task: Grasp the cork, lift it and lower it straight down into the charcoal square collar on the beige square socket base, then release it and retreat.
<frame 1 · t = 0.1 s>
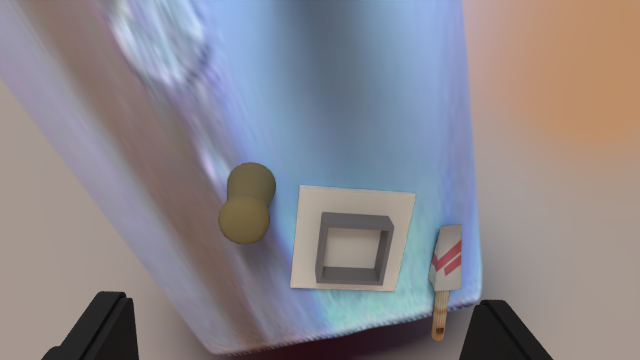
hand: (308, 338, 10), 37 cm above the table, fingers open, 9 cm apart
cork: (251, 184, 48), on the table
beige square socket base: (349, 239, 52), on the table
paintbrush: (439, 278, 56), on the table
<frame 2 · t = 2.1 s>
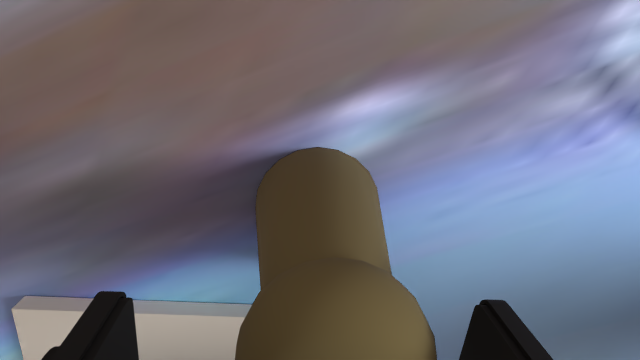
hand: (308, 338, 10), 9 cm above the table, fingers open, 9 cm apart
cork: (317, 204, 19), on the table
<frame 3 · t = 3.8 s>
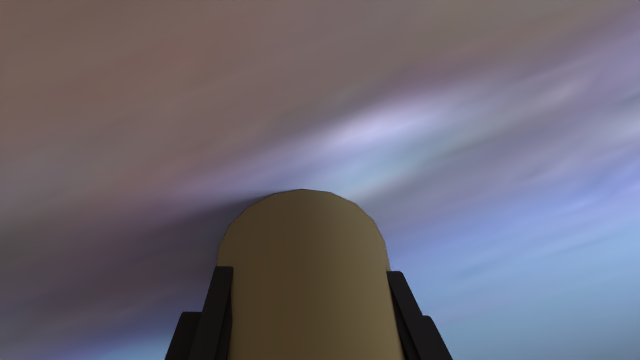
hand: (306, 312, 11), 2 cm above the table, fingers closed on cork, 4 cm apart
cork: (302, 264, 14), on the table, touching gripper
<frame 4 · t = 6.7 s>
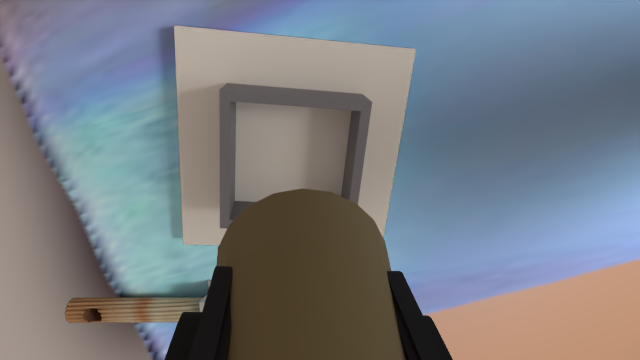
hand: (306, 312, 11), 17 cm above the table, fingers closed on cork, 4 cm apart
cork: (302, 263, 14), point 15 cm above the table, touching gripper
beige square socket base: (291, 149, 27), on the table
paintbrush: (205, 297, 32), on the table
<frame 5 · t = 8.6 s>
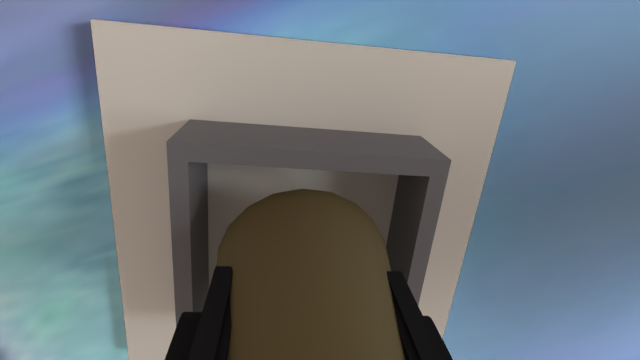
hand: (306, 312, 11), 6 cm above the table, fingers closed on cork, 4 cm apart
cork: (302, 264, 14), point 4 cm above the table, touching gripper
beige square socket base: (299, 219, 17), on the table
when the fingers open (5 cm above the table, at t = 10.0 s): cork drops 1 cm, resting on beige square socket base.
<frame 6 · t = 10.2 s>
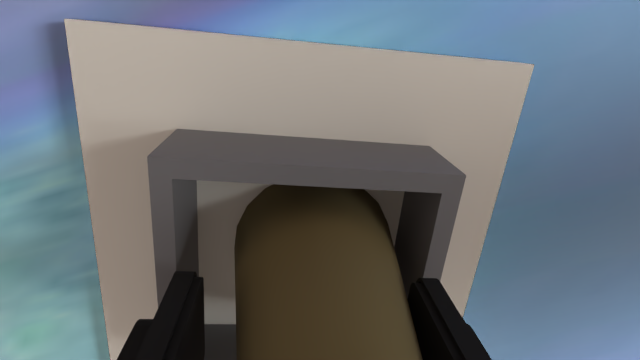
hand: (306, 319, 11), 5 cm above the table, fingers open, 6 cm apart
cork: (312, 242, 15), point 1 cm above the table, touching beige square socket base
beige square socket base: (297, 234, 16), on the table
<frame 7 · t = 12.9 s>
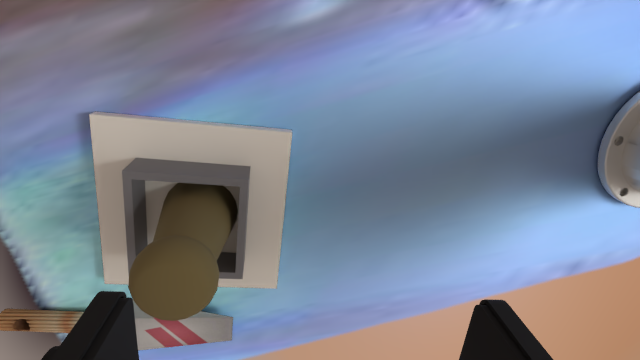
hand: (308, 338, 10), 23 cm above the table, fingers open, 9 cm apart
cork: (201, 209, 32), point 1 cm above the table, touching beige square socket base
beige square socket base: (196, 206, 33), on the table
paintbrush: (127, 312, 36), on the table
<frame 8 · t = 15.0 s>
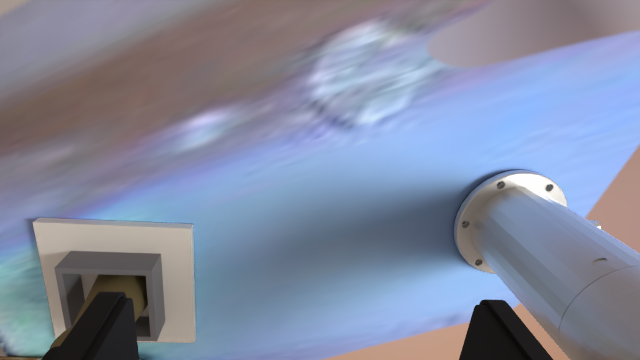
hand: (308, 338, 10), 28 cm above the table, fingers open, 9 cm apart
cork: (126, 285, 41), point 1 cm above the table, touching beige square socket base
beige square socket base: (124, 281, 42), on the table
paintbrush: (77, 357, 45), on the table
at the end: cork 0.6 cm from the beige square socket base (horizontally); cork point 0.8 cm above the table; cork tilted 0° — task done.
